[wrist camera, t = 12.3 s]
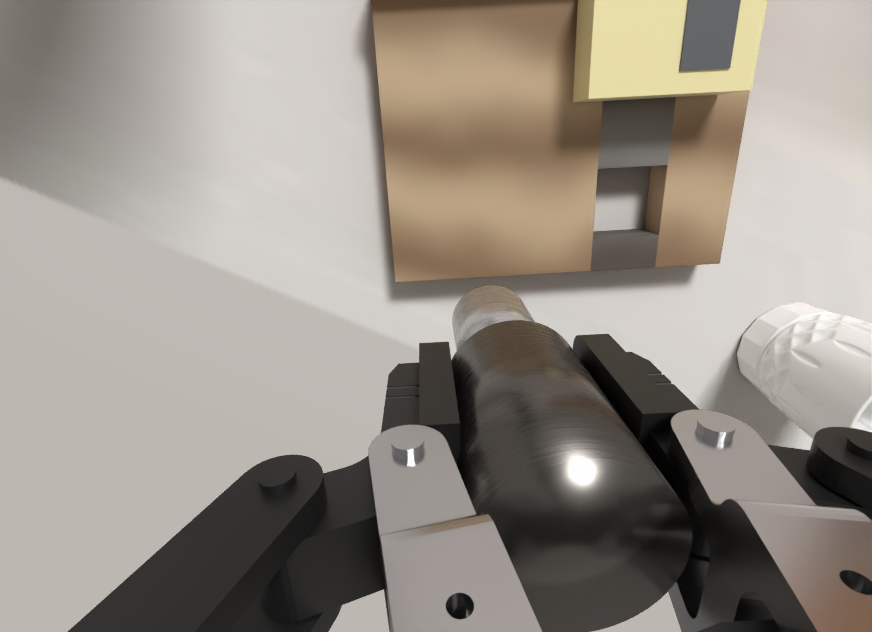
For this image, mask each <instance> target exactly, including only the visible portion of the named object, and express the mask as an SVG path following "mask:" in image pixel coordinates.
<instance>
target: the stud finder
mask: <svg viewBox="0 0 872 632" xmlns="http://www.w3.org/2000/svg"><path fill="white" fill-rule="evenodd" d="M766 5H767V0H578V10H577V29H576V49H575V69H574V88H573V102H592V101H610V100H629V99H647V98H666V97H685V96H703V95H721V94H728V93H735V92H742V91H749V90H752V85H753V79H754V74H755V68H756V62H757V57H758V51H759V45H760V40H761V34H762V28H763V23H764V17H765V11H766Z"/></svg>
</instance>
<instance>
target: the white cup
mask: <svg viewBox="0 0 872 632" xmlns="http://www.w3.org/2000/svg"><path fill="white" fill-rule="evenodd" d="M737 359H738V364H739V369H740V372H741V374H742V375H743V376H744V377H745V378H746V379H747V380H748V381H749V382H750V383H751V384H752V385H753V386H755V387H756V388H757V389H758V390H759V391H761V392H762V393H763V394H764V395H766V397H767V398H768V400H769V401H770V402H771V403H772V404H773V405H775V406H776V407H777V408H778V409H780V410H781V412H782V413H784V414H785V415H786V416H787V417H788V418H789V419H791V420H792V421H793V422H794V423H795V424H796V425H797V426H798V427H799V428H800V429H802V430H803V431H804V432H805V433H806V434H808V435H809V436H810V437H811V438H812V439H814V435H815V434H816V432H817V431H819V430H820V429H823V428H827V427H848V428H855V429H860V430H865V431H868V432H872V324H871V323H869V322H865V321H862V320H858V319H856V318H853V317H850V316H847V315H839V314H836V313H833V312H831V311H828V310H825V309H823V308H820V307H816V306H813V305H809V304H806V303H802V302H798V303H792V304H786V305H780V306H777V307H775V308H773V309H772V310H770V311H768V312H767V313H765V314H763V315H761V316H760V317H758V318H757V319H756V320H755V321H754V322H753V324H752V325H751V326H750V327H749V328H748V330H747V331H746V332H745V333H744V334H743V336H742V339H741V342H740V345H739V349H738V352H737Z"/></svg>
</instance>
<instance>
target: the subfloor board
mask: <svg viewBox="0 0 872 632" xmlns="http://www.w3.org/2000/svg"><path fill="white" fill-rule="evenodd" d="M371 4H372V15H373V27H374V39H375V50H376V62H377V74H378V85H379V97H380V109H381V120H382V132H383V144H384V155H385V167H386V179H387V190H388V202H389V214H390V225H391V237H392V249H393V260H394V272H395V282H406V281H423V280H440V279H458V278H475V277H493V276H510V275H527V274H545V273H562V272H580V271H597V270H615V269H632V268H649V267H667V266H684V265H702V264H719V263H720V258H721V252H722V246H723V241H724V235H725V229H726V223H727V218H728V212H729V206H730V201H731V195H732V189H733V183H734V178H735V172H736V166H737V160H738V155H739V149H740V143H741V137H742V132H743V126H744V120H745V115H746V109H747V103H748V97H749V92H750V90H749V91H742V92H735V93H728V94H721V95H703V96H685V97H666V98H647V99H629V100H610V101H592V102H573V88H574V69H575V49H576V29H577V10H578V0H371ZM639 166H651V171H650V180H649V189H648V198H647V207H646V216H645V225H644V229H631V230H613V231H596V232H593V228H594V214H595V200H596V186H597V172H598V169H603V168H621V167H639Z"/></svg>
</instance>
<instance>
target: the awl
mask: <svg viewBox="0 0 872 632" xmlns="http://www.w3.org/2000/svg"><path fill="white" fill-rule="evenodd" d="M452 324H453V331H454V337H455V343H456V349H457V352H456V353H455V355H454V357H453V359H452V361H451V363H452V370H453V377H454V384H455V392H456V399H457V406H458V413H459V420H460V445H461V454H460V456H459V459H458V464H457V468H458V470H459V473H460V475H461V478H462V480H463V483H464V485H465V488H466V490H467V493H468V495H469V497H470V500H471V502H472V505H473V507H474V510H475V512H476V514H481V513H487V514H489V516H490V517H491V518H492V520H493V522H494V524H495V526H496V528H497V531H498V533H499V535H500V537H501V540H502V542H503V544H504V546H505V549H506V551H507V553H508V555H509V558H510V560H511V562H512V564H513V567H514V569H515V571H516V574H517V576H518V578H519V580H520V583H521V585H522V587H523V589H524V592H525V594H526V596H527V598H528V601H529V603H530V605H531V607H532V610H533V612H534V614H535V616H536V619H537V621H538V623H539V626H540V628H541V630H542V632H591V631H596V630H600V629H603V628H607V627H610V626H613V625H616V624H619V623H621V622H624V621H626V620H628V619H630V618H632V617H634V616H636V615H638V614H639V613H641V612H643V611H644V610H646V609H648V608H649V607H650V606H652V605H653V604H654V603H656V602H657V601H658V600H660V599H661V598H662V597H663V596H664V595H665V594H666V593H667V592H668V591H669V590H670V589H671V587H672V586H673V585H674V584H675V583H676V581H677V580H678V578H679V577H680V575H681V573H682V572H683V570H684V568H685V566H686V564H687V561H688V559H689V555H690V552H691V546H692V526H691V522H690V518H689V515H688V513H687V510H686V508H685V506H684V505H683V503H682V502H681V500H680V499H679V497H678V496H677V494H676V493H675V492H674V490H673V489H672V488H671V486H670V485H669V483H668V482H667V481H666V479H665V478H664V476H663V475H662V474H661V472H660V471H659V469H658V468H657V467H656V465H655V464H654V462H653V461H652V460H651V458H650V457H649V455H648V454H647V453H646V451H645V450H644V448H643V447H642V446H641V444H640V443H639V442H638V440H637V439H636V437H635V436H634V435H633V433H632V432H631V430H630V429H629V428H628V426H627V425H626V423H625V422H624V421H623V419H622V418H621V416H620V415H619V414H618V412H617V411H616V409H615V408H614V407H613V405H612V404H611V403H610V401H609V400H608V398H607V397H606V396H605V394H604V393H603V391H602V390H601V389H600V387H599V386H598V384H597V383H596V382H595V380H594V379H593V377H592V376H591V375H590V373H589V372H588V370H587V369H586V368H585V366H584V365H583V363H582V362H581V361H580V359H579V358H578V357H577V355H576V354H575V352H574V351H573V350H572V348H571V347H570V345H569V344H568V343H567V341H566V340H565V339H564V338H563V337H562V336H561V335H559V334H558V333H557V332H556V331H554V330H552V329H551V328H549V327H547V326H544V325H542V324H539V323H536V322H535V321H534V320H533V318H532V317H531V315H530V313H529V312H528V310H527V308H526V307H525V305H524V304H523V302H522V301H521V299H520V298H519V297H518V296H517V295H516V294H515V293H514V292H513V291H511V290H509V289H507V288H505V287H502V286H497V285H486V286H481V287H478V288H475V289H473V290H471V291H470V292H468V293H467V294H466V295H464V296H463V297H462V298H461V300H460V301H459V302H458V304H457V306H456V308H455V310H454V313H453V319H452Z"/></svg>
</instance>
